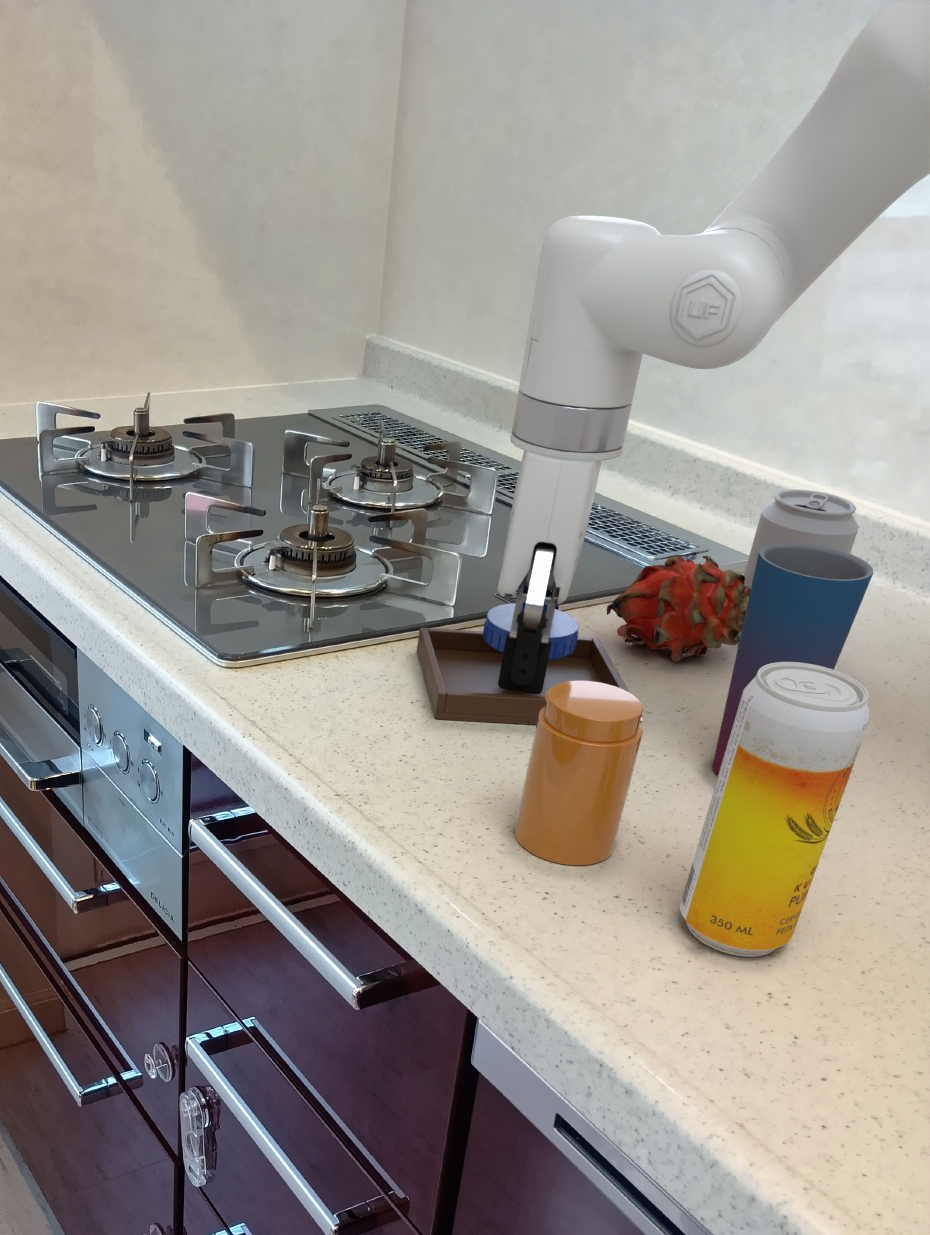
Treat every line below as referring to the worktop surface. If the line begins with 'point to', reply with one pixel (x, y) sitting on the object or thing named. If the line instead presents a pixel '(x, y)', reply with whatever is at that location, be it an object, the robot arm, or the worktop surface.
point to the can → (804, 524)
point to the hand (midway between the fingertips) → (524, 668)
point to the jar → (579, 772)
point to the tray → (497, 676)
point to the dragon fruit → (683, 607)
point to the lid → (560, 633)
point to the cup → (794, 615)
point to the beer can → (773, 806)
